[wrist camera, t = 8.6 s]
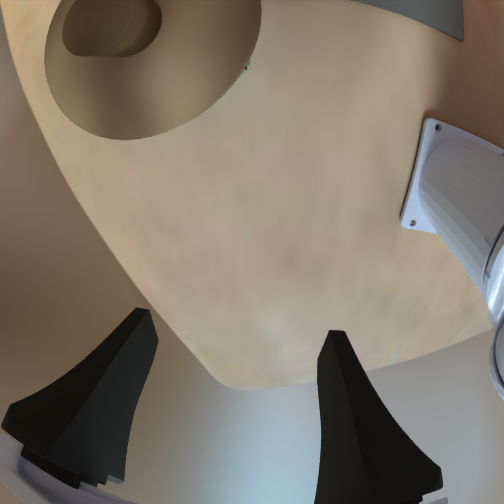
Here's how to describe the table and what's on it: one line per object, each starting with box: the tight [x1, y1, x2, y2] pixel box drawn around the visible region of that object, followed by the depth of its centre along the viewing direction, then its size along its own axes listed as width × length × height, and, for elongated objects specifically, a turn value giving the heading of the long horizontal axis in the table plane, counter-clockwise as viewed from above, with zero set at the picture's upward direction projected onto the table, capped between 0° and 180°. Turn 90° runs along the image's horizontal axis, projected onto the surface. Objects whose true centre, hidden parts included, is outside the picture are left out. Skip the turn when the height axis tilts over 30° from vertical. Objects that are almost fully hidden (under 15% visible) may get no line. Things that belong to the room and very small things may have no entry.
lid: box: [45, 0, 262, 140], centre depth 7 cm, size 12×12×4 cm
